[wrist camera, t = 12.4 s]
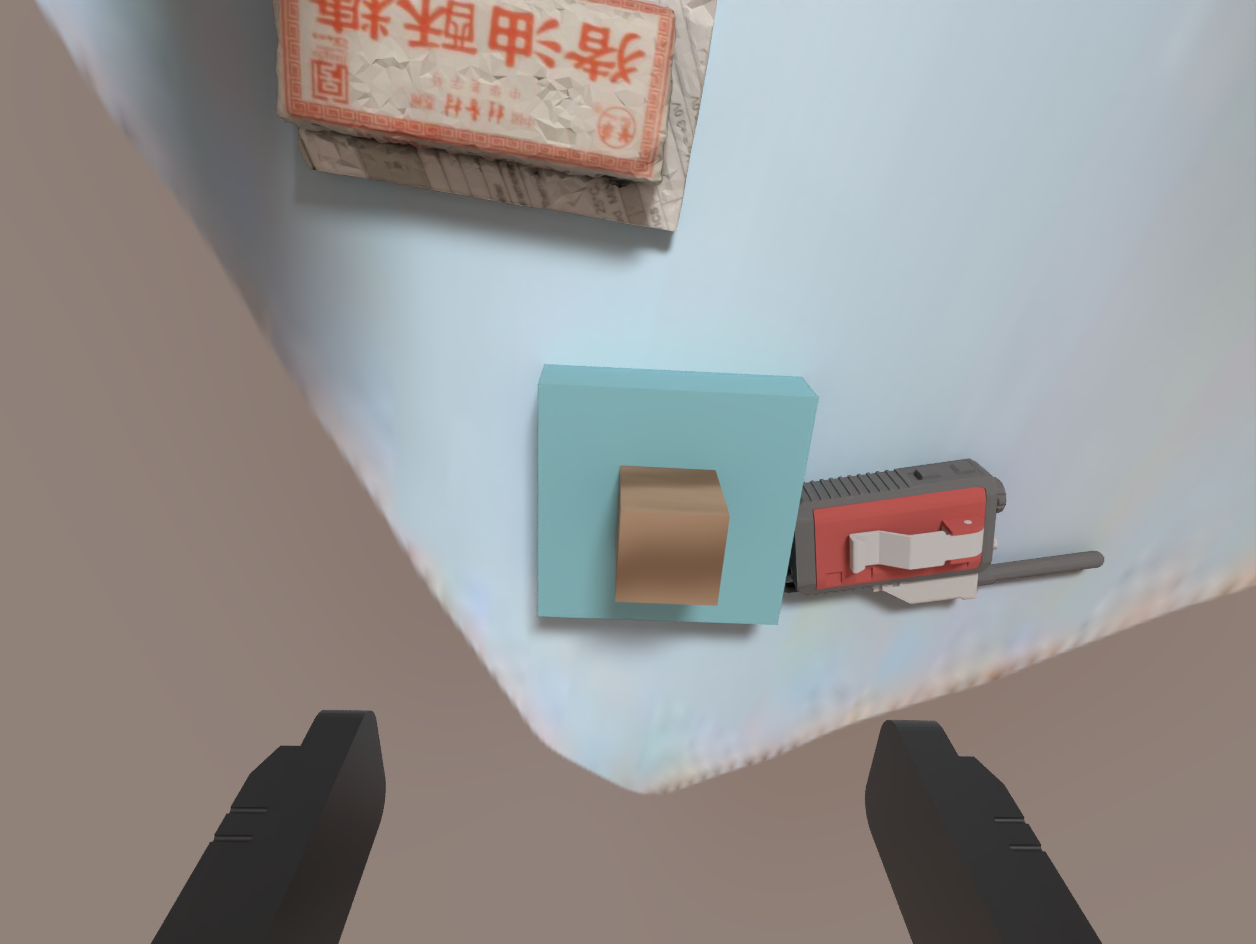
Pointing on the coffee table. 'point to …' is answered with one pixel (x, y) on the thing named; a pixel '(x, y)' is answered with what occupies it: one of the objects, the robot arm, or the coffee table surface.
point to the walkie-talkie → (909, 534)
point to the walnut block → (670, 536)
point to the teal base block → (669, 438)
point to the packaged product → (502, 97)
